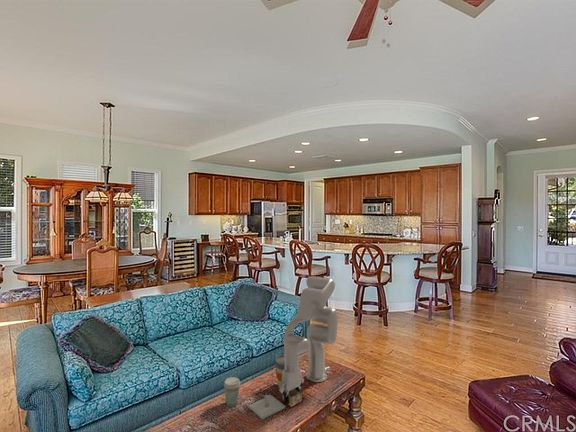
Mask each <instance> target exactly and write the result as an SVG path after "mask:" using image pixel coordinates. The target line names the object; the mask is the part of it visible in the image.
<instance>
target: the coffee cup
mask: <svg viewBox="0 0 576 432" xmlns="http://www.w3.org/2000/svg"><path fill="white" fill-rule="evenodd" d="M240 386H241V381H240V379H239V378H238V377H236V376H230V377H227V378H226V379H225V380H224V383H223V387H224V394H225V404H226V406H227V407H229V408H234V407H236V406H237V405H238V403H239V396H240V395H239V394H240Z"/></svg>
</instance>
